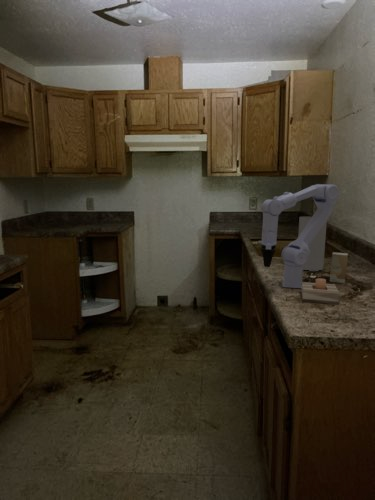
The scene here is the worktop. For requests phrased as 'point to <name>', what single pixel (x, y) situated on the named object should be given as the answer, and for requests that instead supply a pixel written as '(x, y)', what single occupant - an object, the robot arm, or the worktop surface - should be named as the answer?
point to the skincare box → (338, 267)
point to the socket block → (320, 293)
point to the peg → (320, 283)
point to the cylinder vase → (314, 247)
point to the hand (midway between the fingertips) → (267, 264)
